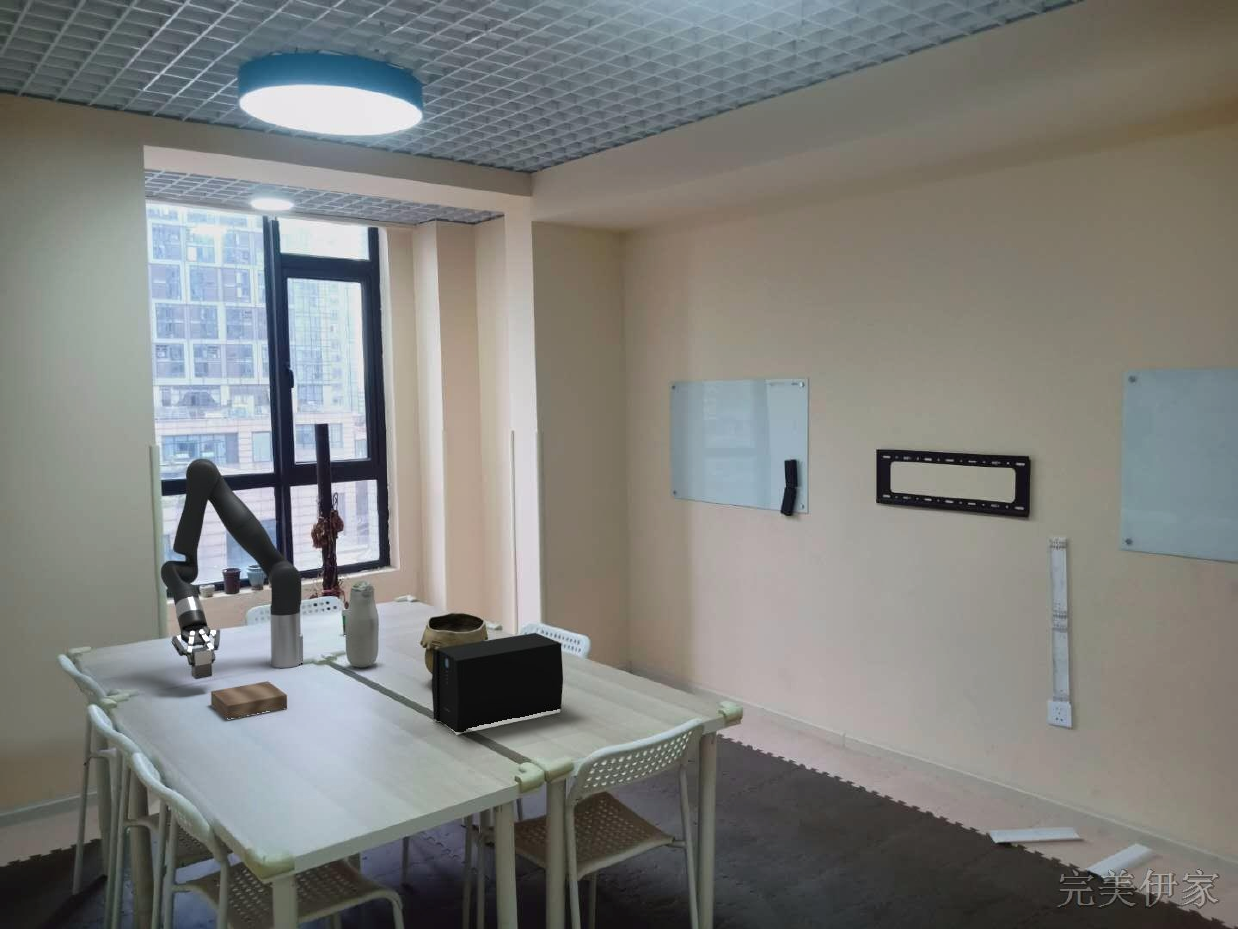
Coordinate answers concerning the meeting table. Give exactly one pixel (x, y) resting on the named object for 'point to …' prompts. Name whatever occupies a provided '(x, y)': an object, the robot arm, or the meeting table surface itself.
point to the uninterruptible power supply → (496, 680)
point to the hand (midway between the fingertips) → (203, 663)
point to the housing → (202, 663)
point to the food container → (344, 620)
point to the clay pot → (451, 633)
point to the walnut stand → (248, 700)
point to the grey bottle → (362, 626)
